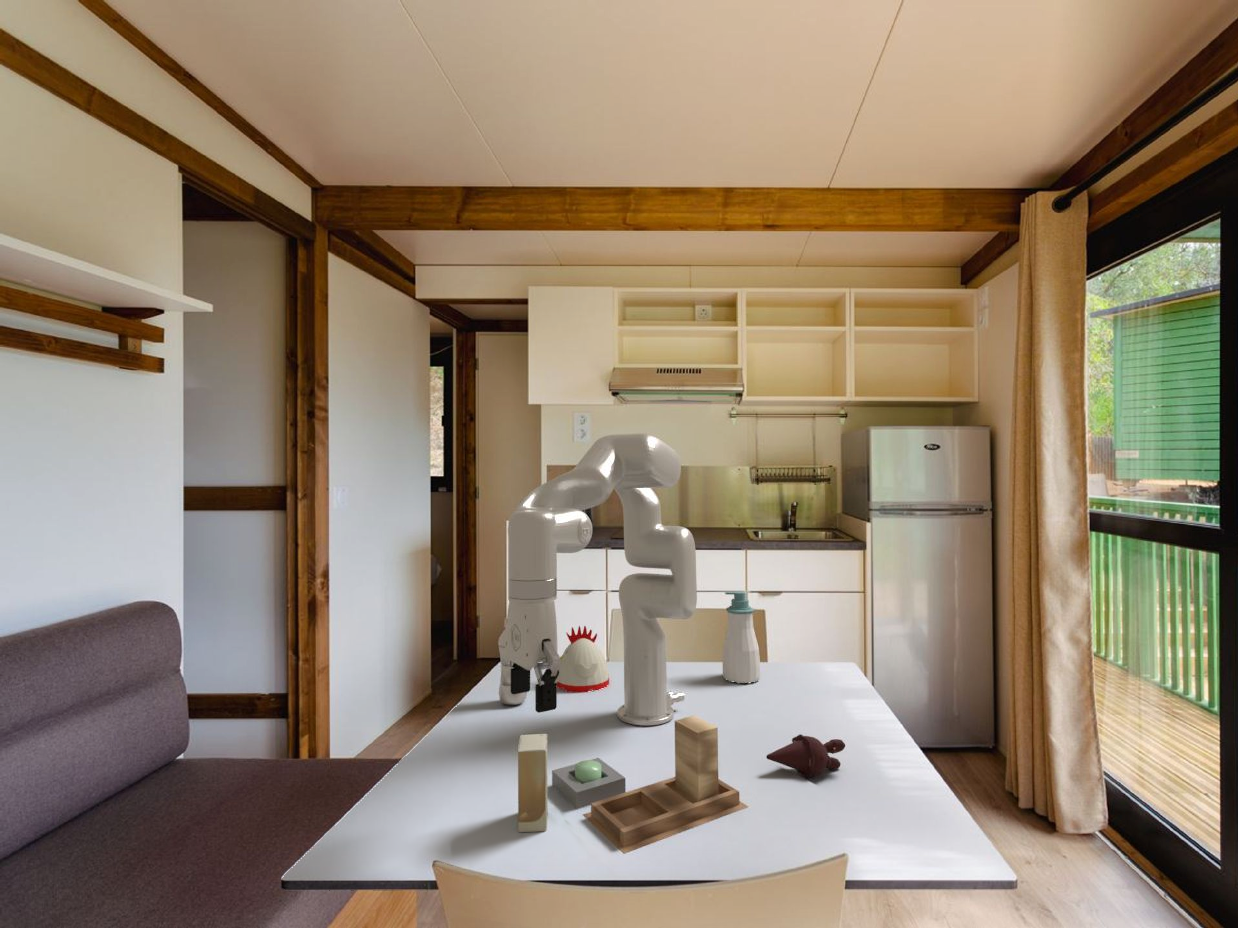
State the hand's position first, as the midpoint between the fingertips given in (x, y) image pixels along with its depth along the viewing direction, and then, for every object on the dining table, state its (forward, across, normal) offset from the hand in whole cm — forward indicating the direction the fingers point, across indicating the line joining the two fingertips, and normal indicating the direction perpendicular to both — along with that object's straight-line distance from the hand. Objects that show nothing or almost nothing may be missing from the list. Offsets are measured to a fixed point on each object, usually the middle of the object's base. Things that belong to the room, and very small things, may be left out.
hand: (532, 700), depth 96 cm
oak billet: (+17, +10, +24) cm, 31 cm away
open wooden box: (+18, +10, +18) cm, 28 cm away
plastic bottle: (+18, -51, +17) cm, 57 cm away
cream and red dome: (+18, -55, +38) cm, 69 cm away
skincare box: (+19, 0, 0) cm, 19 cm away
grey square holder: (+18, -3, +11) cm, 22 cm away
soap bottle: (+18, -35, +75) cm, 85 cm away
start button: (+17, -3, +11) cm, 20 cm away
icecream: (+18, +12, +47) cm, 52 cm away
